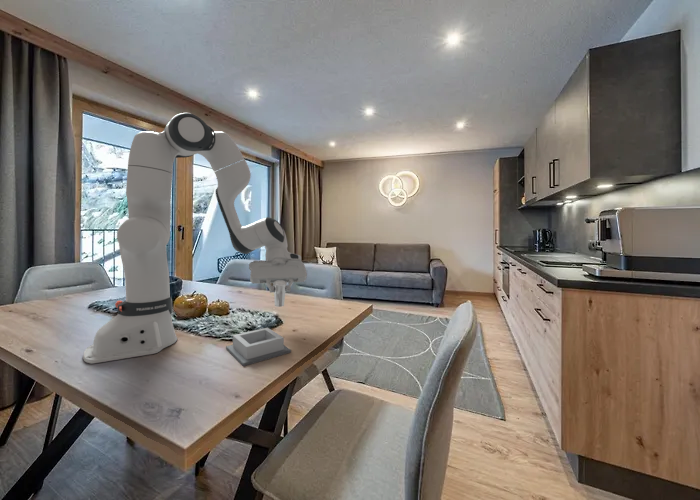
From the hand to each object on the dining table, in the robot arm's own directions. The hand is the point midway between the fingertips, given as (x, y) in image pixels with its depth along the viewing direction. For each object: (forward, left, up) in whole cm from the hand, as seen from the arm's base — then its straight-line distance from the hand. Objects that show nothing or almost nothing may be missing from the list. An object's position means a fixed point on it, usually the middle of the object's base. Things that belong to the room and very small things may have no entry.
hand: (280, 291), depth 104 cm
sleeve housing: (-13, -13, -14) cm, 23 cm away
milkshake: (0, +1, -6) cm, 6 cm away
